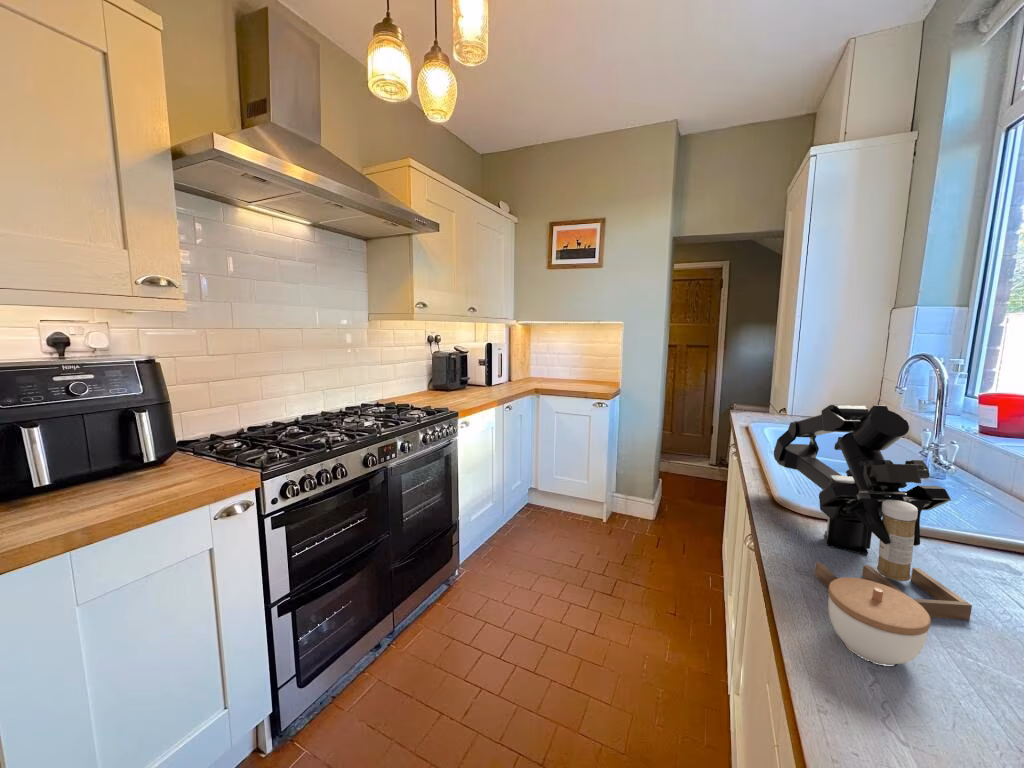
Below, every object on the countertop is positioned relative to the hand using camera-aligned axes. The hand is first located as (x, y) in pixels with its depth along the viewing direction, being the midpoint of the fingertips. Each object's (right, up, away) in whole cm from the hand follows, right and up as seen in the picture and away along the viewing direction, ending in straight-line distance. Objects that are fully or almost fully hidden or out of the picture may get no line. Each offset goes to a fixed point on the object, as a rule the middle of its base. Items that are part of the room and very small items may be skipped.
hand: (902, 544), depth 72 cm
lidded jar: (-16, -10, -12) cm, 23 cm away
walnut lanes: (-4, -8, -1) cm, 9 cm away
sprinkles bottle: (+1, -7, +2) cm, 7 cm away
